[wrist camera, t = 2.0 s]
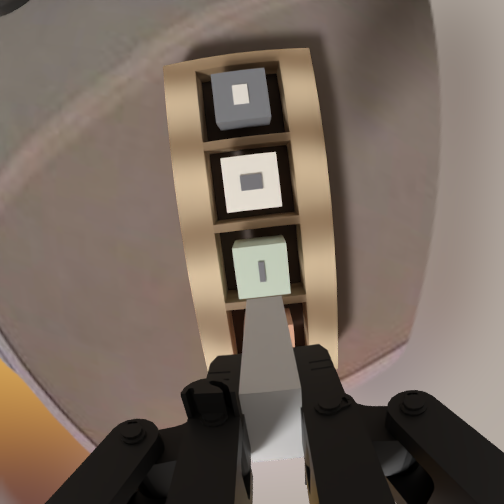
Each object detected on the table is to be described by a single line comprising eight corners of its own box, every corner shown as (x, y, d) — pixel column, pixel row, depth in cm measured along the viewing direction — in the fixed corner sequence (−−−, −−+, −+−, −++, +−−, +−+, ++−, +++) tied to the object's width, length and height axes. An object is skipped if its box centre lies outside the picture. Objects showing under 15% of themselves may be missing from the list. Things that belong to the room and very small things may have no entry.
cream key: (225, 161, 23) (220, 158, 20) (273, 156, 23) (276, 151, 19) (231, 208, 24) (226, 213, 20) (278, 203, 23) (282, 206, 20)
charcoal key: (216, 87, 22) (210, 73, 18) (263, 81, 21) (264, 67, 18) (221, 131, 22) (215, 122, 19) (269, 125, 22) (271, 116, 19)
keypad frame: (172, 77, 23) (163, 66, 20) (303, 61, 22) (309, 47, 19) (214, 364, 28) (210, 382, 25) (330, 351, 28) (337, 368, 25)
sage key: (235, 240, 24) (231, 249, 21) (282, 234, 24) (286, 242, 21) (241, 284, 25) (238, 299, 22) (286, 279, 25) (290, 294, 21)
